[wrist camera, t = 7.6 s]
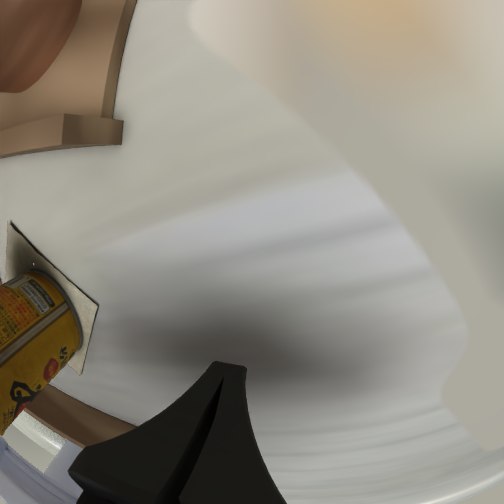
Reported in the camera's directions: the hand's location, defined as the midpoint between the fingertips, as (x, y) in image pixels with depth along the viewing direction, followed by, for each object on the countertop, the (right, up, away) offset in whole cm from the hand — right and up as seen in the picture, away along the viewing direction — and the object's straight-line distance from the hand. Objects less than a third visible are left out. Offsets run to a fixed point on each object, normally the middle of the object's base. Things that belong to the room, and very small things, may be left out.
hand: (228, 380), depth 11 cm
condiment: (-12, +2, +3) cm, 13 cm away
